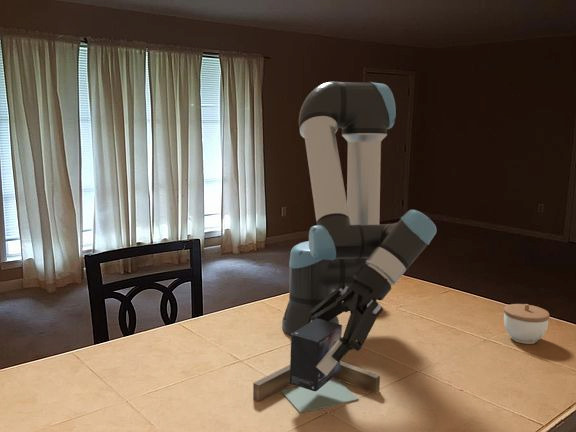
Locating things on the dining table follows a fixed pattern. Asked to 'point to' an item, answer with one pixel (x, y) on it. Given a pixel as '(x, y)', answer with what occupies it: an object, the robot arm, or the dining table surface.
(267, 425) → the dining table surface
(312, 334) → the small box
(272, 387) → the walnut corner fence
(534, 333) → the lidded jar
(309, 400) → the pad
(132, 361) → the dining table surface
